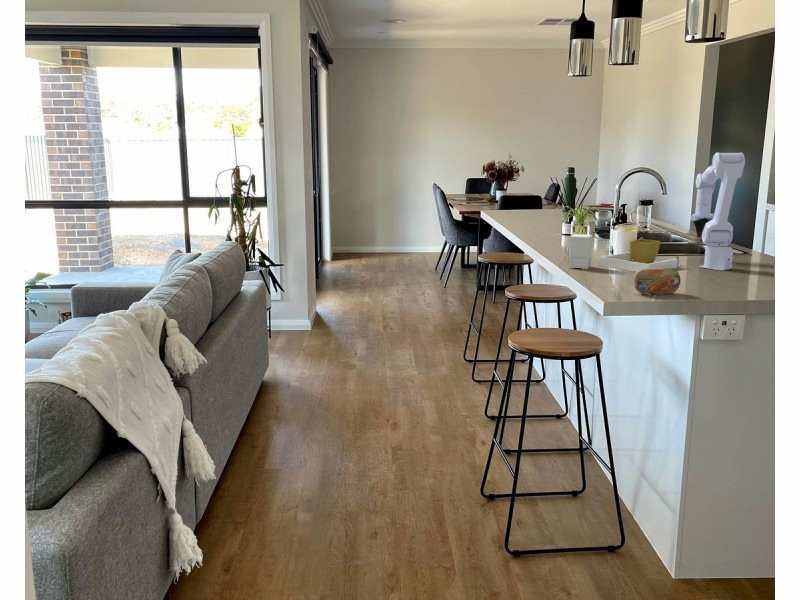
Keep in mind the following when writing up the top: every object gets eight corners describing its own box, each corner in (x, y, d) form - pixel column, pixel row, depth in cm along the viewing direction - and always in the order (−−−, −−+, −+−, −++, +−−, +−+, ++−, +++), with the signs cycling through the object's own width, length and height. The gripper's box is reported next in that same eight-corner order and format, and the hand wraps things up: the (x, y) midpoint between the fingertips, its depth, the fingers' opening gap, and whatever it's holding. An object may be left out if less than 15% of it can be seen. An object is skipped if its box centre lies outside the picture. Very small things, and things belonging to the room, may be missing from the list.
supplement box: (591, 266, 272) (593, 234, 269) (587, 269, 265) (589, 237, 262) (572, 265, 275) (573, 233, 272) (568, 268, 268) (570, 235, 266)
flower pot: (627, 262, 281) (629, 240, 279) (639, 260, 286) (641, 238, 284) (646, 265, 274) (648, 243, 272) (659, 263, 280) (660, 241, 278)
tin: (636, 295, 221) (638, 269, 219) (631, 293, 224) (633, 268, 222) (680, 294, 223) (682, 268, 222) (674, 292, 226) (676, 266, 225)
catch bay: (677, 267, 270) (678, 256, 269) (647, 273, 258) (648, 262, 257) (629, 260, 287) (630, 249, 286) (598, 265, 274) (599, 254, 273)
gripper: (703, 202, 291) (700, 234, 294) (684, 204, 282) (681, 237, 285) (719, 203, 285) (716, 236, 288) (701, 205, 277) (698, 239, 280)
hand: (700, 237), depth 286 cm, fingers closed
